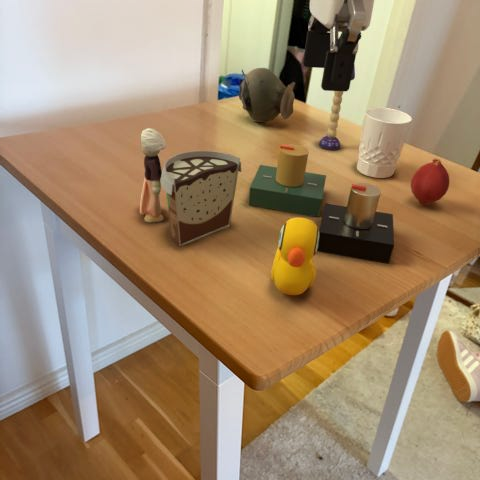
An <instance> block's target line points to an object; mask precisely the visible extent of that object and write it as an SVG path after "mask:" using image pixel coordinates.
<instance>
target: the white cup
mask: <svg viewBox="0 0 480 480" xmlns="http://www.w3.org/2000/svg"><path fill="white" fill-rule="evenodd" d="M412 121H413V118H412V116H411V115H409V114H408V113H406V112H404V111H401V110H398V109H393V108H389V107H370V108H368V109H366V110H365V113H364V118H363V124H362V128H361V129H362V130H361V133H360V134H361V135H360V140H359V148H358V153H357V154H358V157H357V161H356V170H357V171H358V172H359V173H360V174H362V175H365V176H366V177H371V178H374V179H386V178H387V179H388V178H390V177H392V176H393V175H394V173H395V170H396V167H397V164H398V161H399V159H400V157H401V153H402V150H403V148H404V145H405V142H406V139H407V136H408V133H409V130H410V127H411V124H412Z"/></svg>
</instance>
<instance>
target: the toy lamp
mask: <svg viewBox="0 0 480 480" xmlns="http://www.w3.org/2000/svg"><path fill="white" fill-rule="evenodd" d="M355 67H356V66H355V64H354V67H353V72H352V77H351V81H353V80H355V78H356V68H355ZM344 93H345V91H333V97H332V105H331V110H330V111H331V113H330V115H329V120H330V121H329V122H328V129H327V135H325V136H323V137H322V138H321V139H320V140H319V142H318V146H319V148H321V149H323V150H327V151H337V150H339V149H340V148H341V142H340V139H339V138H338V137H336V136H337V134H338V133H337V129H338V127H339V122H338V121H339V119H340V112H341V109H342V107H341V104H342V102H343V94H344Z"/></svg>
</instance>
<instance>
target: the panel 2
mask: <svg viewBox="0 0 480 480" xmlns="http://www.w3.org/2000/svg"><path fill="white" fill-rule="evenodd" d="M346 208H347V205H339V204H335V203H333V204H332V203H327V202H324V205H323V211H322V215H321V220H320V226H319V230H318V231H319V245H318V249H317V251H316V252H322V253H327V254H332V255H339V256H342V257H343V256H344V257H349V258H354V259H362V260H367V261H371V262H378V263H383V264H390V261H391V259H392V255H393V251H394V248H395V231H394V229H395V227H394V214H393V213H388V212H381V211H377V210H376V213H375V217H374V220H373V224H372V226H371V227H370V228H368V229H356V228H352V227H350V226H348V225H347V224H346V223H345V222H344V217H345V212H346Z"/></svg>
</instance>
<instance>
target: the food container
mask: <svg viewBox="0 0 480 480" xmlns="http://www.w3.org/2000/svg"><path fill="white" fill-rule="evenodd" d="M161 170H162V175H161V180H160V183H161V189H162V190H163V191H164V192H166V202H167V211H168V222H169V231H170V238H171V240H172V241H173V243H174V244H175V245H176V246H177V247H179V248H180V247H183V246H185V245H187V244H190V243H193V242H195V241H198V240H200V239H203V238H205V237H208V236H210V235H212V234H214V233H217V232H219V231H221V230H224V229H227V228H229V227H231V220H232V215H233V207H234V203H235V202H234V201H235V195H236V189H237V182H238V176H239V173H242V171H243V170H242V162H241V158H240V157H238V156H237V155H233V154H230V153H226V152H221V151H214V150H191V151H184V152H181V153H177V154H175V155H173V156H171V157H169V158H167V160H166V161H165V163H164V166H163V168H162V169H161Z"/></svg>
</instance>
